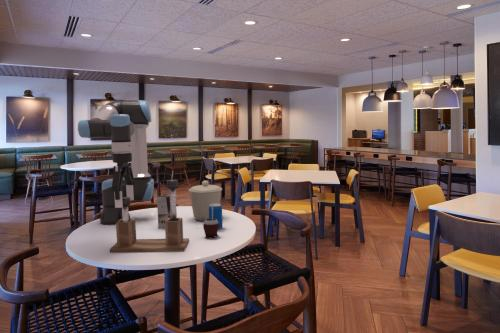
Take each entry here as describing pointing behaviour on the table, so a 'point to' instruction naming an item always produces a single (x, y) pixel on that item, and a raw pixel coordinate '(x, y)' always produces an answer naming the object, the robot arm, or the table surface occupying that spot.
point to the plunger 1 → (125, 208)
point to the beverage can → (216, 213)
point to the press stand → (131, 244)
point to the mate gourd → (211, 226)
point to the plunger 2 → (173, 198)
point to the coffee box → (163, 209)
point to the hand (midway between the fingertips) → (124, 203)
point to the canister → (204, 199)
